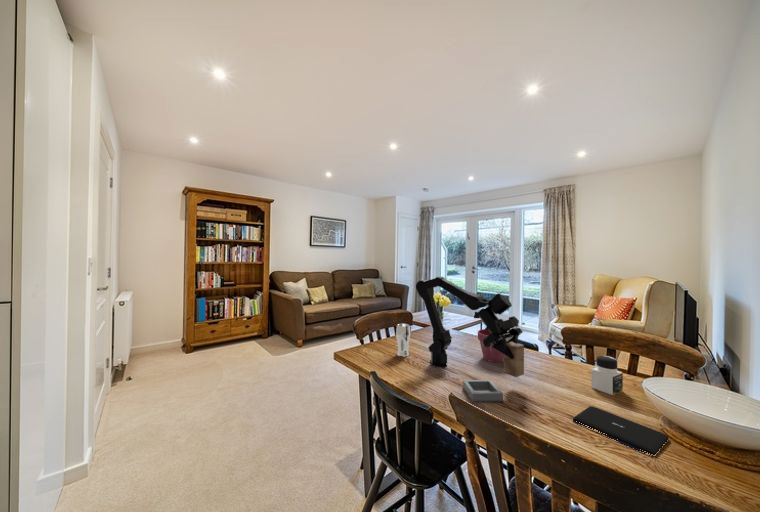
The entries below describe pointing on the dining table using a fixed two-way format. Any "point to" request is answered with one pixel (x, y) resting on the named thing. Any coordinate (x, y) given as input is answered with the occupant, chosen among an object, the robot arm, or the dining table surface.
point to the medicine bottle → (607, 376)
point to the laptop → (622, 430)
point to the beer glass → (403, 339)
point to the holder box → (482, 391)
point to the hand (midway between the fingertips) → (517, 357)
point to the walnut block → (514, 360)
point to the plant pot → (489, 348)
